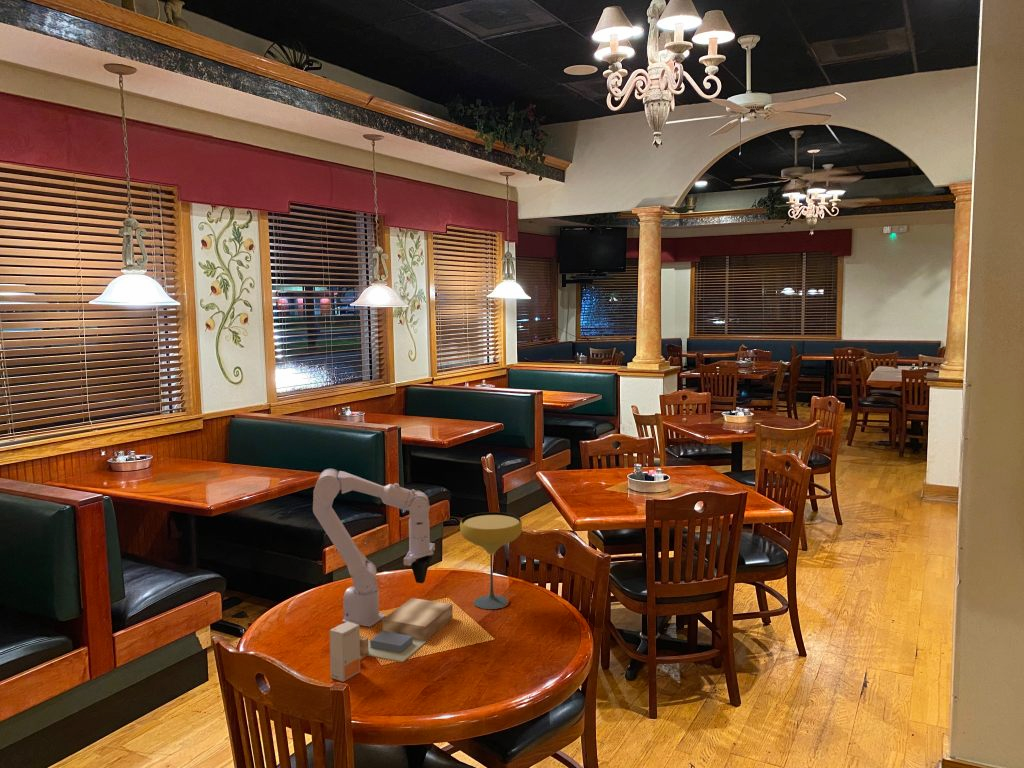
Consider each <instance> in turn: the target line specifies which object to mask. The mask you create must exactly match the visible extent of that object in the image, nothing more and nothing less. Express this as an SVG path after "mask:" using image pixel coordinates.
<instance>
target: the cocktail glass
mask: <svg viewBox="0 0 1024 768" xmlns="http://www.w3.org/2000/svg"><path fill="white" fill-rule="evenodd" d="M522 529H523V524H522V519H521V518H520V517H519V516H517V515H515V514H512V513H507V512H506V513H505V512H498V511H490V512H488V511H487V512H479V513H472V514H469V515H466V516H464V517H463V518H462V519H461V520H460V525H459V530H460V534H461V536H462V537H463V538H464V539H465V540H466V541H467V542H470V543H471V544H474V545H477V546H479V547H481V548H483V549H484V550H485V551H486V553H487V554H488V555H489V556H490V559H489V561H490V562H489V563H490V579H489V580H490V581H489V583H490V586H489V587H490V588H489V594H487V595H486V594H485V595H486V596H485V595H481V596H482V597H481V596H478V597H479V598H478V597H476V598H477V599H476V598H475V599H474V600H473V605H474V606H475V607H476V606H477V608H478V607H480V608H479V609H481V608H484V609H483V610H485V609H497V608H502V607H504V606H506V604H507V602H508V600H506V598H504V597H505V596H504V595H500V596H499V594H495V592H494V580H493V579H494V578H493V577H494V575H493V574H494V572H493V571H494V570H493V555H494V554H495V553H497V551H498V549H500V548H501V547H504V546H505V545H508V544H510V543H512V542H513V541H515V540H516V539H518V538H519V536H520V535H521V533H522ZM503 596H504V597H503ZM502 609H503V608H502ZM497 610H498V609H497Z"/></svg>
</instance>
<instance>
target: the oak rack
mask: <svg viewBox="0 0 1024 768" xmlns="http://www.w3.org/2000/svg"><path fill="white" fill-rule="evenodd" d="M368 642H369V637H366V636H360V661H361V660H363V659H364V658H365V657H366V656H367V654H368V653H369V651H368Z"/></svg>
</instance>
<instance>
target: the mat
mask: <svg viewBox="0 0 1024 768" xmlns="http://www.w3.org/2000/svg"><path fill="white" fill-rule="evenodd" d="M426 643H427V640H426V641H422V640H416V639H413V644H412V645H410V646H409V647H408V648H407V649H406V650H405V651H403V652H402V653H396V652H391V651H385V650H380V649H375V648H370V640H368V651H369V653H368V654H367V656H368V657H373V658H379V659H383V660H389V661H393V662H394V661H395V662H398V663H404V662H405V661H406V660H407V659H409V658H410V657H411V656H412V655H414V654H415V653H416V652H417V651H418V650H419V649H420V648H422V647H423V646H424V645H425V644H426Z"/></svg>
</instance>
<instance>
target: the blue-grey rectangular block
mask: <svg viewBox="0 0 1024 768" xmlns="http://www.w3.org/2000/svg"><path fill="white" fill-rule="evenodd" d="M369 641H370V648H375V649H380V650H385V651H391V652H396V653H402V652H403V651H405V650H406V649H407V648H408V647H409V646H410V645H412V644H413V636H409V635H403V634H397V633H392V632H386V631H383V630H382V631H380V632H379V633H378V634H376V635H375V636H374V637H372V639H371V638H370V640H369Z"/></svg>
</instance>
